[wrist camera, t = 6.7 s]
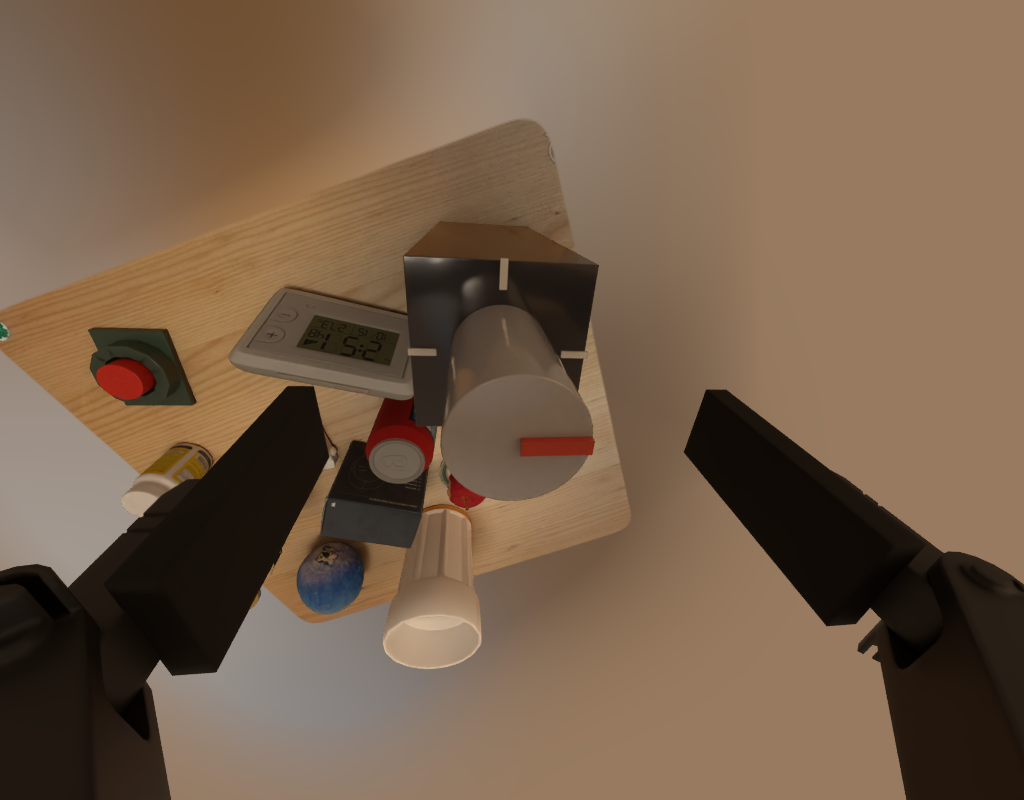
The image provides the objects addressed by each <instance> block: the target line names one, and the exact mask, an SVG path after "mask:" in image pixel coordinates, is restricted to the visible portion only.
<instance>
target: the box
mask: <svg viewBox="0 0 1024 800" xmlns="http://www.w3.org/2000/svg"><path fill="white" fill-rule="evenodd" d="M428 469H429V466H428V467H427V469H426V470H425V471H423V472H422V473H421V475H420V476H419V477H417V478H416V479H414V480H413V481H410V482H407V483H401V484H397V483H390V482H386V481H384V480H382V479H380V478H379V477H377V476H376V475H375V474H374V473H373V471H372V470H371V468H370V465H369V461H368V459H367V456H366V443H362V442H357V441H353V442H352V443H351V444H350V446H349V449H348V452H347V454H346V456H345V458H344V461H343V463H342V465H341V467H340V469H339V472H338V474H337V476H336V478H335V481H334V483H333V485H332V487H331V490H330V492H329V494H328V496H327V497H326V499H325V505H324V508H323V509H324V510H323V514H322V521H321V533H320V535H321V536H326V537H333V538H340V539H347V540H354V541H361V542H369V543H376V544H383V545H390V546H396V547H404V548H411V547H412V544H413V541H414V538H415V536H416V533H417V531H418V527H419V524H420V521H421V519H422V513H423V503H424V496H425V490H426V483H427V476H428Z"/></svg>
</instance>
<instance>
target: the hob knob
mask: <svg viewBox="0 0 1024 800" xmlns="http://www.w3.org/2000/svg"><path fill="white" fill-rule="evenodd" d="M594 443H595V441H594V439H593V425H592V420H591V416H590V414H589V411H588V409H587V407H586V405H585V403H584V402H583V400H582V398H581V396H580V395H579V393H578V391H577V389H576V387H575V386H574V384H573V382H572V380H571V378H570V377H569V375H568V373H567V371H566V369H565V368H564V366H563V364H562V362H561V361H560V359H559V357H558V355H557V353H556V352H555V350H554V348H553V346H552V344H551V343H550V341H549V339H548V337H547V335H546V334H545V332H544V330H543V328H542V327H541V325H540V324H539V322H538V321H537V320H536V319H535V318H534V317H533V316H532V315H530V314H529V313H527V312H526V311H524V310H522V309H520V308H517V307H514V306H509V305H492V306H487V307H484V308H481V309H479V310H477V311H475V312H473V313H472V314H470V315H469V316H468V317H467V318H465V319H464V320H463V322H462V323H461V324H460V325H459V327H458V328H457V330H456V332H455V334H454V336H453V339H452V343H451V350H450V359H449V368H448V377H447V385H446V394H445V403H444V412H443V421H442V430H441V452H442V456H443V459H444V462H445V464H446V466H447V468H448V470H449V471H450V473H451V474H452V475H453V477H454V478H455V479H456V480H457V481H458V482H459V483H460V484H462V485H463V486H464V487H465V488H467V489H469V490H470V491H472V492H474V493H476V494H478V495H481V496H484V497H487V498H491V499H495V500H503V501H518V500H526V499H532V498H535V497H539V496H542V495H544V494H547V493H549V492H551V491H553V490H555V489H557V488H559V487H560V486H562V485H563V484H565V483H566V482H567V481H568V480H570V479H571V478H572V477H573V476H574V475H575V474H576V473H577V472H578V470H579V469H580V468H581V467H582V465H583V464H584V462H585V460H586V459H587V456H588V455H592V454H593V449H594Z"/></svg>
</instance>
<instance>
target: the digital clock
mask: <svg viewBox="0 0 1024 800" xmlns="http://www.w3.org/2000/svg"><path fill="white" fill-rule="evenodd" d="M408 348H410V340H409V327H408V316H406V315H402V314H398V313H393V312H389V311H385V310H381V309H376V308H372V307H368V306H363V305H359V304H355V303H351V302H346V301H342V300H338V299H334V298H329V297H325V296H321V295H316V294H312V293H308V292H303V291H299V290H294V289H289V288H283V289H280V290H279V291H277V292H276V293H275V294H274V295H273V296H272V298H271V299H270V300H269V302H268V303H267V304H266V306H265V307H264V308H263V310H262V311H261V312H260V314H259V315H258V316H257V317H256V319H255V320H254V321H253V323H252V324H251V325H250V327H249V328H248V329H247V331H246V332H245V333H244V335H243V336H242V337H241V339H240V340H239V341H238V343H237V344H236V345H235V347H234V348H233V350H232V351H231V353H230V355H229V360H230V362H231V363H232V364H233V365H234V366H235V367H237V368H239V369H241V370H243V371H246V372H250V373H254V374H259V375H264V376H269V377H275V378H280V379H285V380H291V381H296V382H302V383H307V384H312V385H318V386H323V387H329V388H334V389H340V390H345V391H351V392H356V393H361V394H367V395H372V396H378V397H384V398H390V399H396V400H408V399H411V398H412V397H413V396H414V392H413V379H412V366H411V355H408Z"/></svg>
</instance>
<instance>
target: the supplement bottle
mask: <svg viewBox="0 0 1024 800" xmlns="http://www.w3.org/2000/svg"><path fill="white" fill-rule="evenodd" d="M211 466H212V458H211V456H210V454H209V453H208V452H207V451H206V450H205V449H203V448H201V447H199V446H197V445H194V444H189V443H181V444H177V445H175V446H173V447H172V448H171V449H170V450H168V451H167V452H166V453H165V454H164V455H163V456H162V457H160V458H159V459H158V460H157V461H156V462H155V463H154V464H152V465H151V466H150V467H149V468H148V469H147V470H146V471H144V472H143V473H142V474H141V475H140V476H139V477H137V479H136V480H135V481H134V484H133V487H132V488H131V489H130V490H129V491H128V492H127V493H125V494H124V496H123V497H122V500H121V502H122V505H123V507H124V508H125V509H126V510H127V511H128V512H130V513H132V514H134V515H136V516H139V517H143V513H144V512H145V511H146V510H147V509H148V508H149V507H150V506H151V505H152V504H153V503H154V502H155V501H156V500H157V499H158V498H159V497H160V496H161V495H162V494H164V493H166V492H167V491H169V490H171V489H172V488H174V487H175V486H177V485H179V484H180V483H182V482H183V481H185V480H187V479H201V478H202V477H203V475H204V474H205V473H206V472H207V471H208V470H209V469H210V468H211Z"/></svg>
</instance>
